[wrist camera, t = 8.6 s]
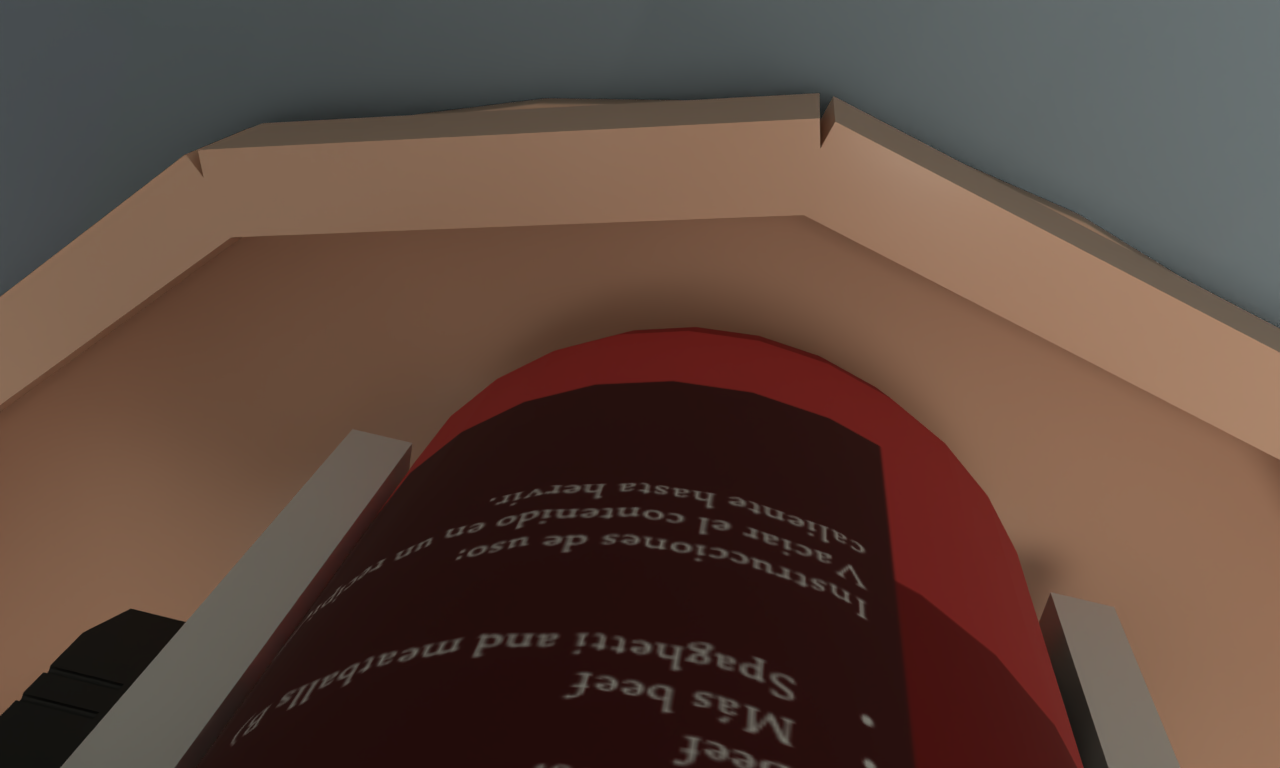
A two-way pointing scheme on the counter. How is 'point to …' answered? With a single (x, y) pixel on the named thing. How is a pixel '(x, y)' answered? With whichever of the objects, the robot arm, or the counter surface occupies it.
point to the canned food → (670, 585)
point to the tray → (621, 302)
